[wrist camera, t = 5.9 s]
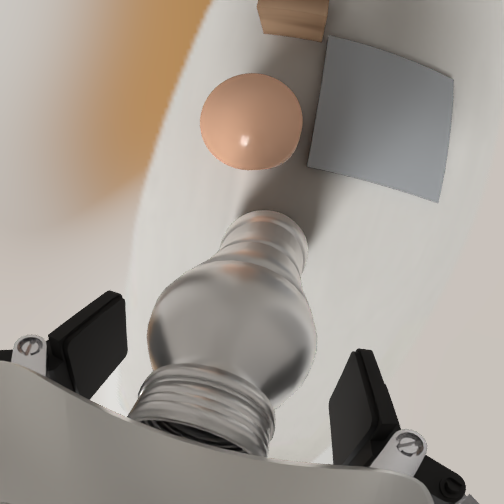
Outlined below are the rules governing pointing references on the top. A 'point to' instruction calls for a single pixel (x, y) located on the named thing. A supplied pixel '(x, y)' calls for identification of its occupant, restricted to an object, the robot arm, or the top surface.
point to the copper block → (294, 18)
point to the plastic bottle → (231, 339)
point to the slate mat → (382, 119)
